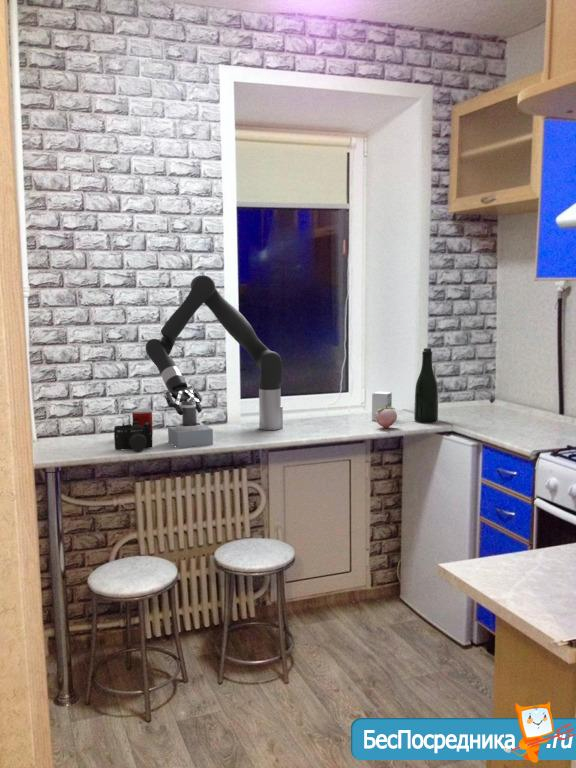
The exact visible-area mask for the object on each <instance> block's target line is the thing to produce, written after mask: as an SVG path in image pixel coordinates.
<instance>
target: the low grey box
mask: <svg viewBox="0 0 576 768" xmlns="http://www.w3.org/2000/svg"><path fill="white" fill-rule="evenodd" d="M167 436H168V437H167V438H168V439H167V440H168V443H169V444H170V443H171V444H170V445H172V444H173V445H174V446H173V445H172V446H173V447H175V446H176V447H175V448H176V449H184V448H183V447H186V448H193V447H192V446H195V447H201V446H200V445H204V446H212V445H214V428H211V427H209V426H208V425H205V424H204V423H203V422H201V421H200V422H199V421H196V426H183V422H179V423H177V424H176V426H168V427H167Z"/></svg>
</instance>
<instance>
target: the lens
mask: <svg viewBox="0 0 576 768" xmlns="http://www.w3.org/2000/svg"><path fill="white" fill-rule="evenodd" d="M181 408H182V410H183V414H182V415H181V416H182V420H181V421H182V423H183V426H196V422H197V409H196V402H188V401H187V402H181Z"/></svg>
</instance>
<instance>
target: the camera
mask: <svg viewBox="0 0 576 768" xmlns="http://www.w3.org/2000/svg"><path fill="white" fill-rule="evenodd" d="M152 427H153V425H152V426H151V424H149V422H147V423H145V424H144V426H139V424H138V421H137V422H133V421H132V422H131V424H125V423H122V425H115V426H114V429H113V432H114V433H113V436H114V437H113V438H114V450H115V451H122V450H121V449H125V450H133V451H134V452H141V451H143V450H145V449H149V448H148V447H152V448H153V446H154V445H153V444H154V443H153V435H152Z"/></svg>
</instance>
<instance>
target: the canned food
mask: <svg viewBox="0 0 576 768" xmlns="http://www.w3.org/2000/svg"><path fill="white" fill-rule="evenodd" d="M131 413H132V414H131V415H132V416H131V417H132V422H137V421H138V424H139V426H144V424H145V423H147V422H149V424H151V426H152V436H153V434H154V432H153V431H154V430H153V409H150V408H138V409H137V408H136V409H133V410H132V412H131Z"/></svg>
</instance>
